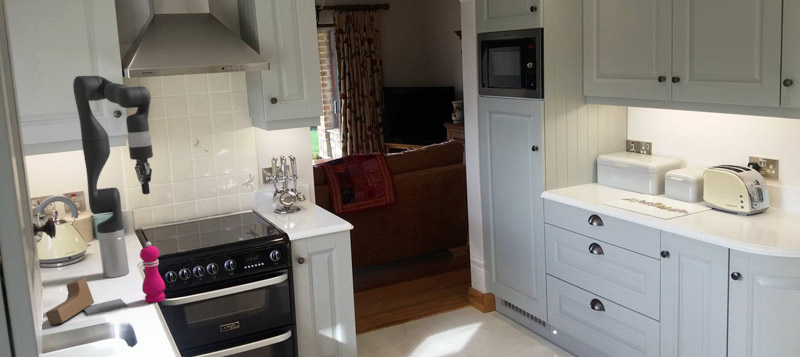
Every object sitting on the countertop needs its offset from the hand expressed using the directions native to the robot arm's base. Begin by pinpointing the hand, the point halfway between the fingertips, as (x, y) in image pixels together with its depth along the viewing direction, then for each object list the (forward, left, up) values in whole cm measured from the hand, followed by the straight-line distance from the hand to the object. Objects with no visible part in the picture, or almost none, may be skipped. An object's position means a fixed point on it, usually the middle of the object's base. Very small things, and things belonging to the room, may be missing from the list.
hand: (146, 193), depth 250 cm
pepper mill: (+18, -6, -33) cm, 38 cm away
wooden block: (+6, -25, -28) cm, 38 cm away
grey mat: (+13, -21, -33) cm, 41 cm away
